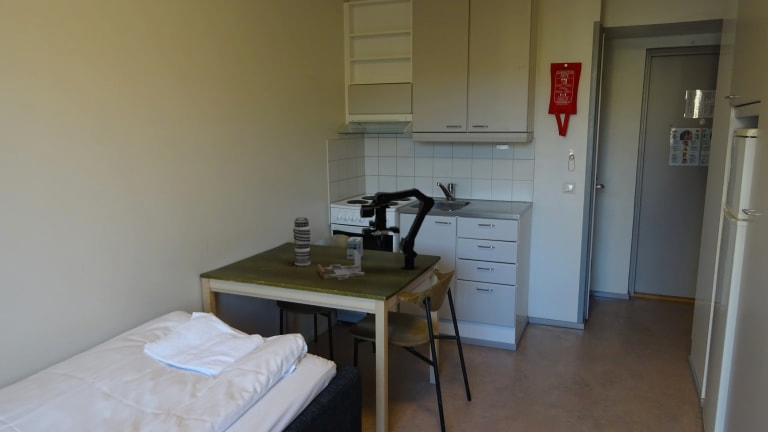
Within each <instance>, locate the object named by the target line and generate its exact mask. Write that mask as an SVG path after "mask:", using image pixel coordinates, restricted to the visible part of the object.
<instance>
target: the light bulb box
mask: <svg viewBox="0 0 768 432" xmlns="http://www.w3.org/2000/svg"><path fill="white" fill-rule="evenodd" d="M363 243H364V242H363V237H362V236H361V237H359V236H351V237H350V238H348V239H347V240H346V253H347V254H346V256H347V257H346V259H347V260H355V251H357V252H358V253H359V254H360V255H361V258H362V257H363V256H364V255H363V254H364V253H363V252H364V251H363V250H364V249H363V247H364V246H363Z"/></svg>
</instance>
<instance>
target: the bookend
mask: <svg viewBox="0 0 768 432" xmlns="http://www.w3.org/2000/svg"><path fill="white" fill-rule="evenodd" d="M361 259H362V257H361V255H360V254H359V253H358V252H357V251H355V259H354V265H355V268H351V269H339V270H332V271H333V273H334V274H337V275H338V276H346V273H356V272H362V265H361V264H362V262H361Z"/></svg>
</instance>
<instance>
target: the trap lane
mask: <svg viewBox="0 0 768 432" xmlns="http://www.w3.org/2000/svg"><path fill="white" fill-rule="evenodd" d="M351 268H355V264H354V265H344V266H342V265H341V264H340V263H339V264H330V265H329V267H322V265H321V264H319V263H318V264H317V272H318V273H319V275H320V277H321V278H322V279H333V278H336V279H337V280H338V281H341V280H342V281H343V280H344V281H345V280H350V277H356V276H357V277H358V276H359V277H360V276H365V271H361V272H356V273H346V276H338V275H337V274H335V273H334V274H332V273H331V274H325V272H328V271H329V272H331V271H333V270H339V269H351Z"/></svg>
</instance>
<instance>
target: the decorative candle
mask: <svg viewBox="0 0 768 432" xmlns="http://www.w3.org/2000/svg"><path fill="white" fill-rule="evenodd" d="M293 221H294V224H293V225H294V227H293V229H292V230H293V231H292V232H293V239H294V240H293V243H294V245H295V247H294V264H295V266H296V265H297V266H308V265H311V257H312V256H311V248H310V243H311V229H310V225H309V223H310V219H308V217H305V216H304V217H303V216H299V217H296V218H295V219H294V220H293Z"/></svg>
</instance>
